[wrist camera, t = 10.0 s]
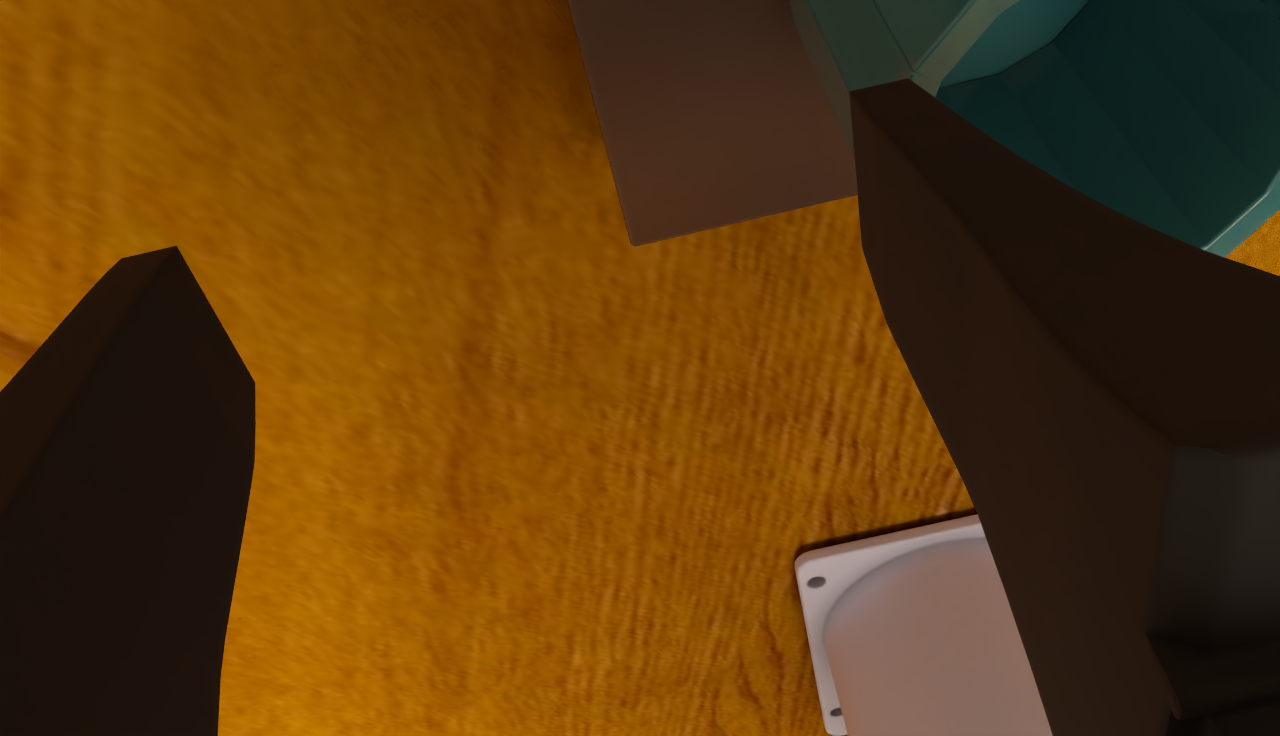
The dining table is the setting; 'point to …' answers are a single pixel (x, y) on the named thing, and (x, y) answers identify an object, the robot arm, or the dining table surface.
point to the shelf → (709, 113)
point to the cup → (1088, 94)
